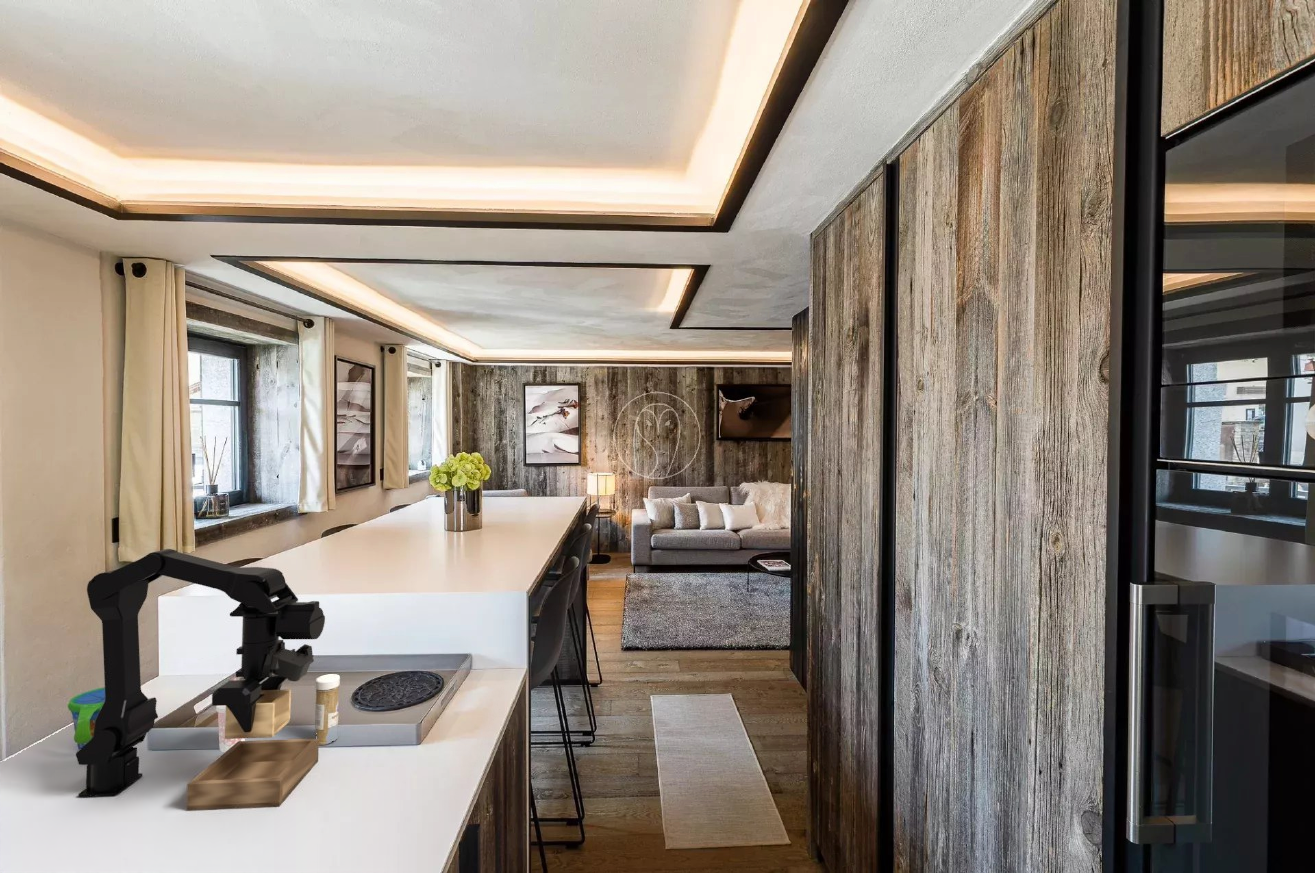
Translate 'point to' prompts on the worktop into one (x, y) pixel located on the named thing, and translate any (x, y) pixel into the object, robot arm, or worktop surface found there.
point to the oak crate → (263, 716)
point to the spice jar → (326, 705)
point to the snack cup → (86, 714)
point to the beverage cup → (223, 742)
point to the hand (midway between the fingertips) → (258, 723)
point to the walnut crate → (253, 774)
